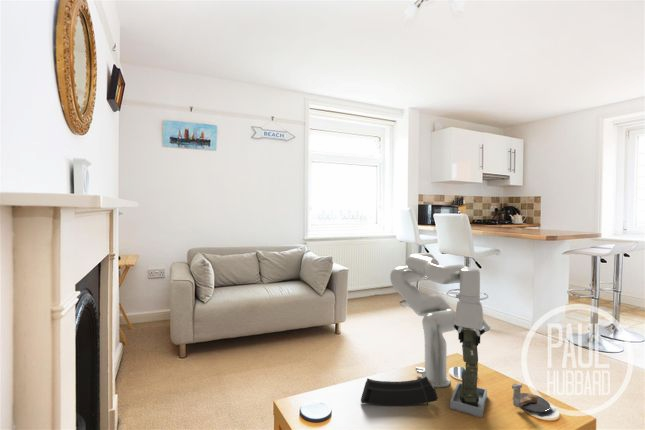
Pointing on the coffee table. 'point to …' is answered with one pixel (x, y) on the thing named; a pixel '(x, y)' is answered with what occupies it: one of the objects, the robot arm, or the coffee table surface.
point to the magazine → (398, 392)
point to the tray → (465, 408)
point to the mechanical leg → (469, 368)
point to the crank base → (536, 405)
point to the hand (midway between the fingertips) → (469, 342)
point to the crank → (518, 402)
